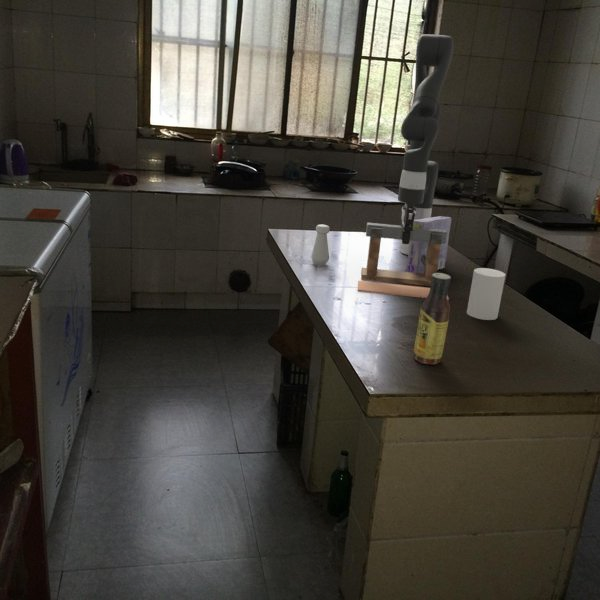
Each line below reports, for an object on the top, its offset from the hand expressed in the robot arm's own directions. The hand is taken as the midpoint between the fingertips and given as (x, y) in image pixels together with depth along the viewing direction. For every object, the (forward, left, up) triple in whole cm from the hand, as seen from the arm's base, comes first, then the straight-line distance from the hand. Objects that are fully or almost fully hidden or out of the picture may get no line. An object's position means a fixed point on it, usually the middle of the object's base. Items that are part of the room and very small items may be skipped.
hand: (404, 241), depth 198 cm
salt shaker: (+18, -20, -12) cm, 30 cm away
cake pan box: (-15, -7, -12) cm, 21 cm away
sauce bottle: (+29, +55, -12) cm, 63 cm away
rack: (0, 0, -12) cm, 12 cm away
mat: (+6, +10, -12) cm, 17 cm away
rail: (0, 0, +1) cm, 1 cm away
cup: (-5, +33, -12) cm, 36 cm away
